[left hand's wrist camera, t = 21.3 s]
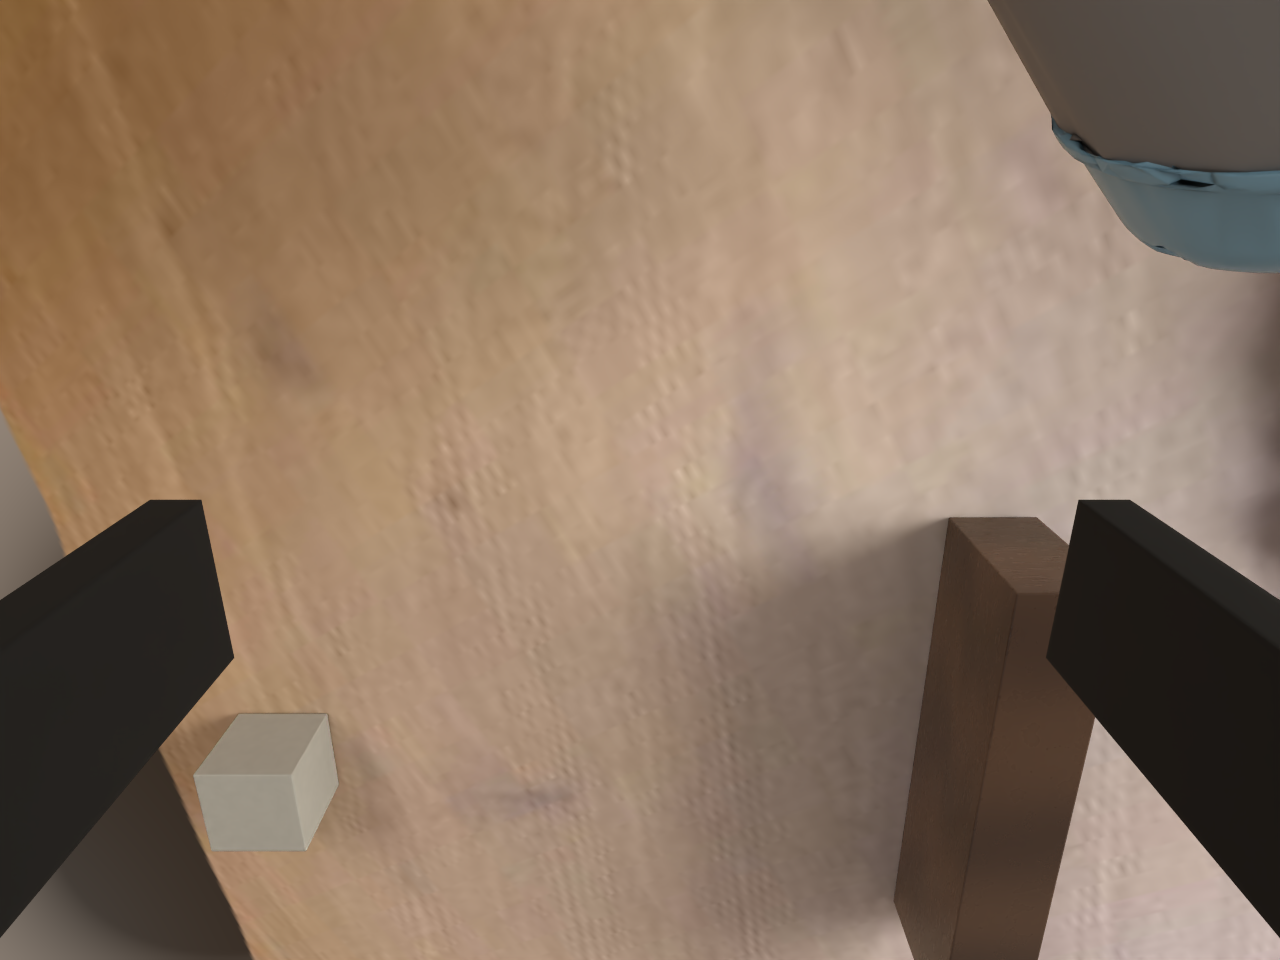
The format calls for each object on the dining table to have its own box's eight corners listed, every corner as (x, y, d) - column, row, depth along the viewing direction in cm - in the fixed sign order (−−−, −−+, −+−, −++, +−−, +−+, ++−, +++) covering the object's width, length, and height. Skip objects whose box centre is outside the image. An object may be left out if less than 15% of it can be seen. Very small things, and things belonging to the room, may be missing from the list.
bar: (948, 517, 41) (1017, 593, 34) (1037, 516, 41) (1125, 593, 34) (893, 900, 50) (937, 1028, 43) (965, 900, 50) (1022, 1027, 43)
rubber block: (238, 713, 45) (192, 775, 41) (327, 713, 45) (291, 775, 41) (253, 784, 47) (211, 851, 42) (339, 784, 47) (306, 851, 42)
